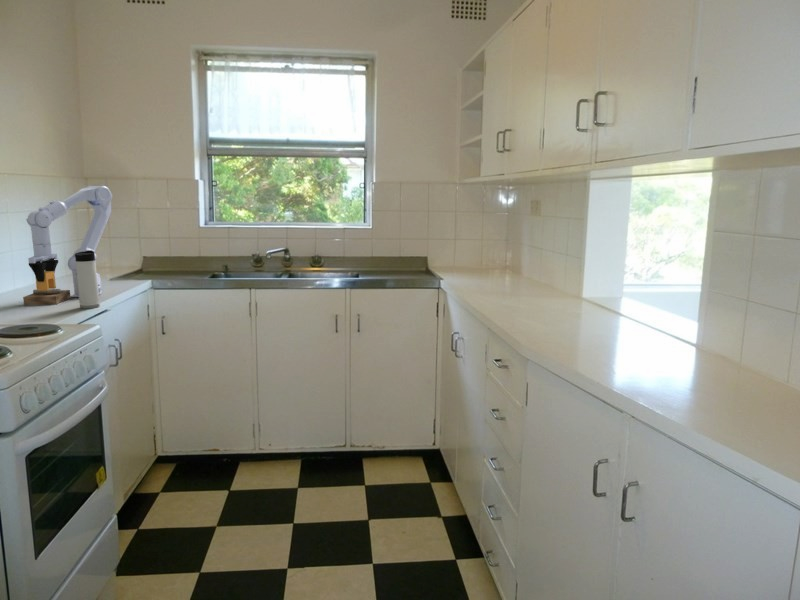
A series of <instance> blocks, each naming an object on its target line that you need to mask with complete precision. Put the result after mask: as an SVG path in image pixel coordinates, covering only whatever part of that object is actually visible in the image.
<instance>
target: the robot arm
mask: <svg viewBox="0 0 800 600" xmlns="http://www.w3.org/2000/svg"><path fill="white" fill-rule="evenodd" d="M112 200H113V193H112V192H111V190H110V188H109V187H108V186H105V185H99V186H97V185H96V186H95V185H93V186H92V185H88V186H85V187H83V188H80V189H79V190H77V192H75V193H73V194H71V195H70V196H68V197H66V198H64V200H63V199H62V201H59V200H51V201H49V203H48V204H46V205H45V206H44V207H38V211H37V210H36V211H35V210H34V211H30V213H28V215H27V218H26V219H25V220H26V223H27V224H28V225H29V227H30V231H31V232H30V233H31V240H32V249H33V256H31V257H28V258H27V259H28V266H29V267H30V269H31V270H32V272H33V274H34V275H35V276H36V278H35V280H36V279H37V281H38V282H44V278H45V277H44V272H45V271H54V274H55V272H56V268H57V265H59V264H58V263H59V259H58V254H57V253H52V244H51V235H50V225H51V224H52V222H54V221H56V220H57V219H59V218H60V217H62V216H64V215H66V214H67V211H68V209H70V208H72V207H75V206H76V205H78V204H81V203H82V202H87V203H88V204H89V205H90V206H91V208H92V209H93V211H94V213H93V215H92V218H91V220H90V223H89V225H88V228H87V230H86V232H85V235H84V237H83V239H82V242H81V244H80V247H79V248H78V249H76V250H74V251H73V254H72V256H71V257H69V258H68V261H67V267H68V269H69V270H70V271H71V273H72V283H73V292H74V294H72V295H70V297H71V298H79V292H78V282H77V272H76V262H75V261H76V260H75V259H76V258H75V253H78V252H83V251H87V250H92V251H94V253H95V262H96V263H97V259H98V256H97V254H96V250H97V249H98V248H97V247H98V245H99V242H100V241H101V238H102V235H103V233H104V231H105V228H106V225H107V223H108V221H109V218H110V216H111V214H112ZM35 276H34V277H35ZM97 283H98V293H99V296H100V295H102V294H103V291H102V290H103V289H102V279H101V275H100V273H97Z"/></svg>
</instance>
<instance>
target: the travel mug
mask: <svg viewBox="0 0 800 600" xmlns="http://www.w3.org/2000/svg"><path fill="white" fill-rule="evenodd" d="M95 254H96V252H95V253H94V251H92V250H87V251H83V252H78V253H75V258H76V259H75V260H76V261H75V262H76V272H77V282H78V292H79V297H78V301H79V307H80V309H84V310H86V309H88V310H89V309H96V308H99V307H100V306H101V303H100V295H99V293H98V283H97V261H96V262H95Z"/></svg>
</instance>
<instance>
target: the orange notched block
mask: <svg viewBox="0 0 800 600" xmlns="http://www.w3.org/2000/svg"><path fill="white" fill-rule="evenodd" d="M34 277H35V285H36V290H37V291H48V290H49V289H57V286H56V285H57V284H56V274H55V273H54V271H45V272H44V277H45V278H44V282H38V281H37V279H36V276H34Z"/></svg>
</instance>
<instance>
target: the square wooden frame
mask: <svg viewBox="0 0 800 600" xmlns="http://www.w3.org/2000/svg"><path fill="white" fill-rule="evenodd" d="M32 292H33V293H31V294H28V295H25V296H23V297H22V298H23V300H22V301H23V306H42V305H47V306H48V305H58V304H61V303H62V302H64V301H66V300H68V299H70V298H72V297H71V290H69V289H63V290H62V289H61V288H55V289H49V290H48V291H37V289H33V290H32Z"/></svg>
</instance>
